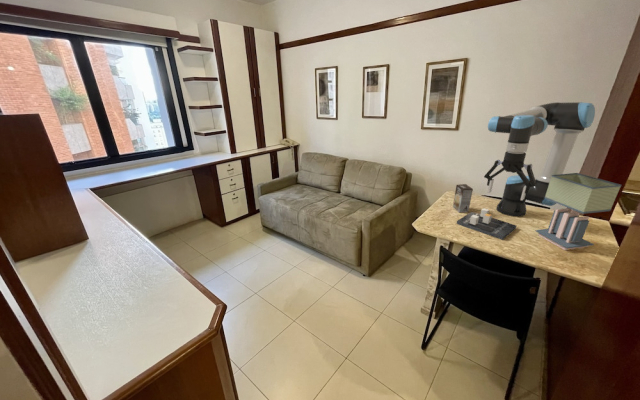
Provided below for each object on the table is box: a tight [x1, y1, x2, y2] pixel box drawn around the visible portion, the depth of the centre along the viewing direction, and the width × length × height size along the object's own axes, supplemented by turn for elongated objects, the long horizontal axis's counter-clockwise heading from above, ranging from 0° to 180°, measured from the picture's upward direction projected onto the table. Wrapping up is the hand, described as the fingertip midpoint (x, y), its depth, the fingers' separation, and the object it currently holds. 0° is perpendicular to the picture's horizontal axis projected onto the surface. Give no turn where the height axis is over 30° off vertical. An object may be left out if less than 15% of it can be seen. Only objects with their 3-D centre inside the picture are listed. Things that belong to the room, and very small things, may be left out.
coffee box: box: [452, 183, 474, 213], centre depth 164 cm, size 9×6×16 cm
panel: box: [456, 211, 517, 241], centre depth 146 cm, size 18×24×2 cm
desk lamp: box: [534, 172, 622, 251], centre depth 123 cm, size 18×14×33 cm
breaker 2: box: [479, 208, 490, 217], centre depth 151 cm, size 3×3×4 cm
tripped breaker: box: [482, 213, 493, 224], centre depth 144 cm, size 3×3×5 cm
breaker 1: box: [470, 215, 479, 225], centre depth 144 cm, size 3×3×4 cm
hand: (505, 195), depth 122 cm, fingers open, 13 cm apart
